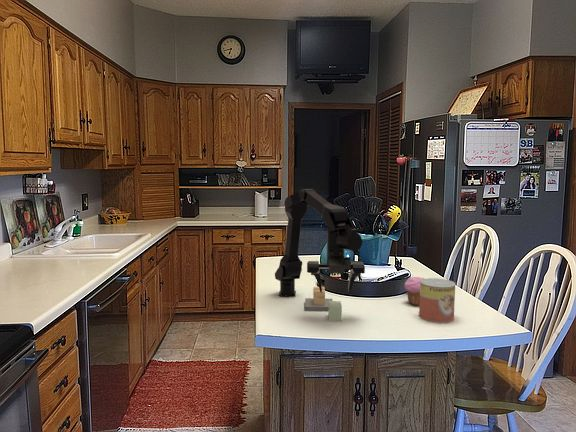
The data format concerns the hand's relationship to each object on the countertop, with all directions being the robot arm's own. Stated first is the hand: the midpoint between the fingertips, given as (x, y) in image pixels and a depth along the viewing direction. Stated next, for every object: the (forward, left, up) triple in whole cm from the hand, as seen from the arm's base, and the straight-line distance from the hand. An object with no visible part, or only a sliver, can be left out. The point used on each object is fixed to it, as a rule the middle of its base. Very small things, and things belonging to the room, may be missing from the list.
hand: (335, 292), depth 154 cm
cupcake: (-17, +31, -9) cm, 36 cm away
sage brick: (0, 0, -9) cm, 9 cm away
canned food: (-2, +34, -9) cm, 35 cm away
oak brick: (-12, -5, -7) cm, 15 cm away
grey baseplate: (-12, -5, -9) cm, 16 cm away
